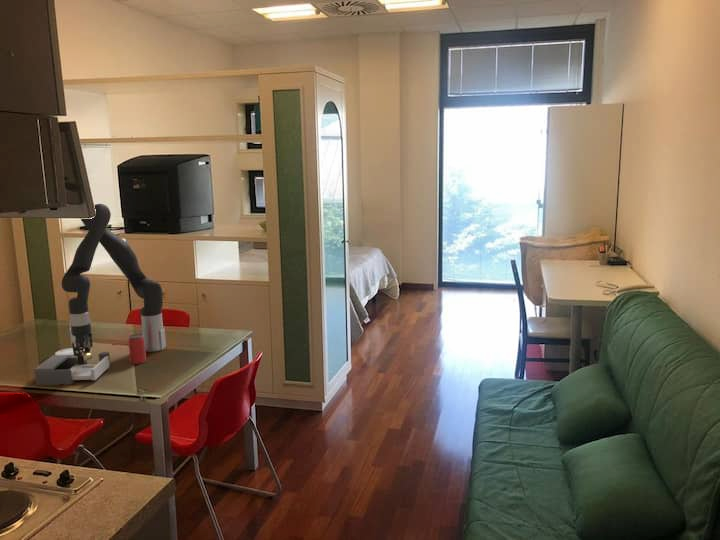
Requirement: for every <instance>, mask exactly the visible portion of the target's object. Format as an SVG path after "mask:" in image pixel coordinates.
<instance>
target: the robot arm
mask: <svg viewBox="0 0 720 540" xmlns="http://www.w3.org/2000/svg"><path fill="white" fill-rule="evenodd" d="M94 205H95V209H96V216H95V217H94V218H92V219H81V218H80V221H81V222H82V224H83V225H84V227H86V229H87V230H88V232H87V233H86V235H85V236H84V238H83V239H82V241H81V242H80V243H79V245H78V247H77V248H76V250H75V253H74V257H73V259H72V263H71V264H70V266H69V267H68V269H67V270H66V272H65V273H64V275H63V277H62V279H61V288H62V290H63V291H64V292H66V293H77V296H75V297H72V298H70V299H69V300H68V310H69V325H70V327H71V334H72V335H73V336H75V337H76V340H75V343H72V344H71V348H73V353H74V356H77V358H78V364H79V365H83V364H84V356H83V353H84V350H85V351H89V352H91V351H92V348H93V346H94V345H93V333H92V325H91V315H90V312H89V303H88V301H89V295H90V289H91V281H90V279H89V278H88V276H86V275H83V274H84V273H88V272H89V271H90V270H91V267H92V265H93V260H94V257H95V253H96V250H97V248H98V245H99V244H100V245H101V246H102V247H103V248H104V250H105V251H106V252H107V254H108V255H109V257H110V258H111V260H112V261H113V262H114V264H115V265H116V266H117V267H118V269H120V271H121V272H122V274H123V275H124V276H125V277H126V279H127V280H128V282H129V283H130V285H131V287H132V288H133V290H134V292H135V294H136V295H137V296H138V297H139V298H140V299H143V307H141V309H140V318H141V319H140V320H141V327H142V328H141V329H142V335H143V338H144V341H145V351H146V352H151V353H152V352H153V353H154V352H158V351H164V349H165V348H166V347H167V341H166V330H165V327H164V325H163V323H164V322H163V313H162V309H163V304H164V302H163V289H162V286H161V284H160V282H158V281H155V280H153V279H152V280H151V279H149V278H148V277H147V276H146V274H144V272H143V271H142V270H141V268H140V265H139V261H138V257H137V256H136V253H135V251H133V249H132V248H131V246H130V244H129V243H128V242H126V241H125V239H123V238H121V237H120V236H118V235H117V234H115V233H113V232H112V231H111V230H110V229H109V228H108V225H109V223H110V221H111V217H112V214H111V210H110V208H109V207H108V206H107V205H106V204H103V203H96V204H94ZM81 274H82V275H81ZM90 350H91V351H90Z"/></svg>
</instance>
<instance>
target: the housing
mask: <svg viewBox="0 0 720 540" xmlns="http://www.w3.org/2000/svg"><path fill="white" fill-rule="evenodd" d="M84 364H88V360H84ZM84 364H83V365H84ZM74 365H79V364H78V361H77V360H76V357H70V355H55V354H54V355H51V356H50V357H48V358H47V359H46V360H45V361H43V362H42V363H40V364H39V365H38V366H36V367H35V368H34V369H33V370H34V376H35V378H34V379H35V384H36V386H57V385H58V386H59V384H64V385H73V384H74V383H75V382H76V381H77V380H72V374H71V369H70V368H72V367H73V366H74Z"/></svg>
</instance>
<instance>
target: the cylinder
mask: <svg viewBox="0 0 720 540" xmlns="http://www.w3.org/2000/svg"><path fill="white" fill-rule="evenodd" d="M97 354H98V363H99V362H100V361H101V360H102V359H103V358H104V357H106V356H109V364H110V365H111V357H110V352H109V351H103V352H99V353H97Z"/></svg>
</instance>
